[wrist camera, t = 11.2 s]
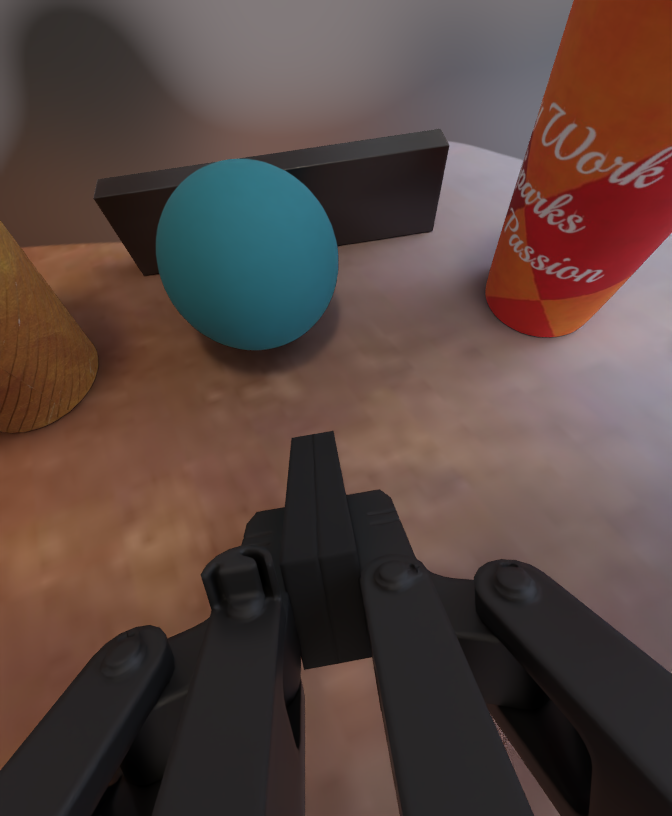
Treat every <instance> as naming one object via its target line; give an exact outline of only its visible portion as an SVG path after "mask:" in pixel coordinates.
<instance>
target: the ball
mask: <svg viewBox="0 0 672 816" xmlns="http://www.w3.org/2000/svg"><path fill="white" fill-rule="evenodd" d="M156 258H157V264H158V270H159V274H160V277H161V280H162V283H163V286H164V288H165V290H166V292H167V294H168V296H169V298H170V300H171V301H172V303H173V305H174V306H175V307H176V309H177V310H178V312H179V313H180V314H181V315H182V316H183V317H184V318H185V319H186V320H187V321H188V322H189V323H190V324H191V325H192V326H193V327H194V328H195V329H197V330H198V331H199V332H200V333H202V334H204V335H205V336H207V337H209V338H210V339H212V340H214V341H216V342H218V343H221V344H223V345H226V346H230V347H234V348H238V349H244V350H265V349H271V348H275V347H279V346H282V345H285V344H288V343H290V342H292V341H294V340H296V339H297V338H299V337H300V336H302V335H303V334H305V333H306V332H307V331H308V330H309V329H310V328H312V327H313V325H314V324H315V323H316V322H317V321H318V320H319V319H320V317H321V316H322V315H323V313H324V312H325V310H326V309H327V307H328V304H329V302H330V300H331V298H332V296H333V293H334V289H335V286H336V281H337V275H338V249H337V242H336V238H335V235H334V231H333V228H332V225H331V223H330V221H329V218H328V216H327V214H326V212H325V210H324V209H323V207H322V205H321V204H320V202H319V201H318V200H317V198H316V197H315V196H314V195H313V194H312V192H311V191H310V190H309V189H308V188H307V187H306V186H305V185H304V184H303V183H301V182H300V181H299V180H298V179H297V178H295V177H294V176H292V175H291V174H289V173H288V172H286V171H284V170H282V169H280V168H278V167H276V166H274V165H271V164H268V163H265V162H262V161H258V160H251V159H229V160H223V161H219V162H215V163H212V164H209V165H207V166H205V167H202V168H201V169H199V170H197V171H195V172H194V173H192V174H191V175H189V176H188V177H187V178H186V179H185V180H184V181H183V182H181V183H180V185H179V186H178V187H177V188H176V189H175V191H174V192H173V193H172V195H171V196H170V198H169V199H168V201H167V203H166V205H165V207H164V209H163V211H162V214H161V217H160V220H159V224H158V228H157V235H156Z"/></svg>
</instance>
